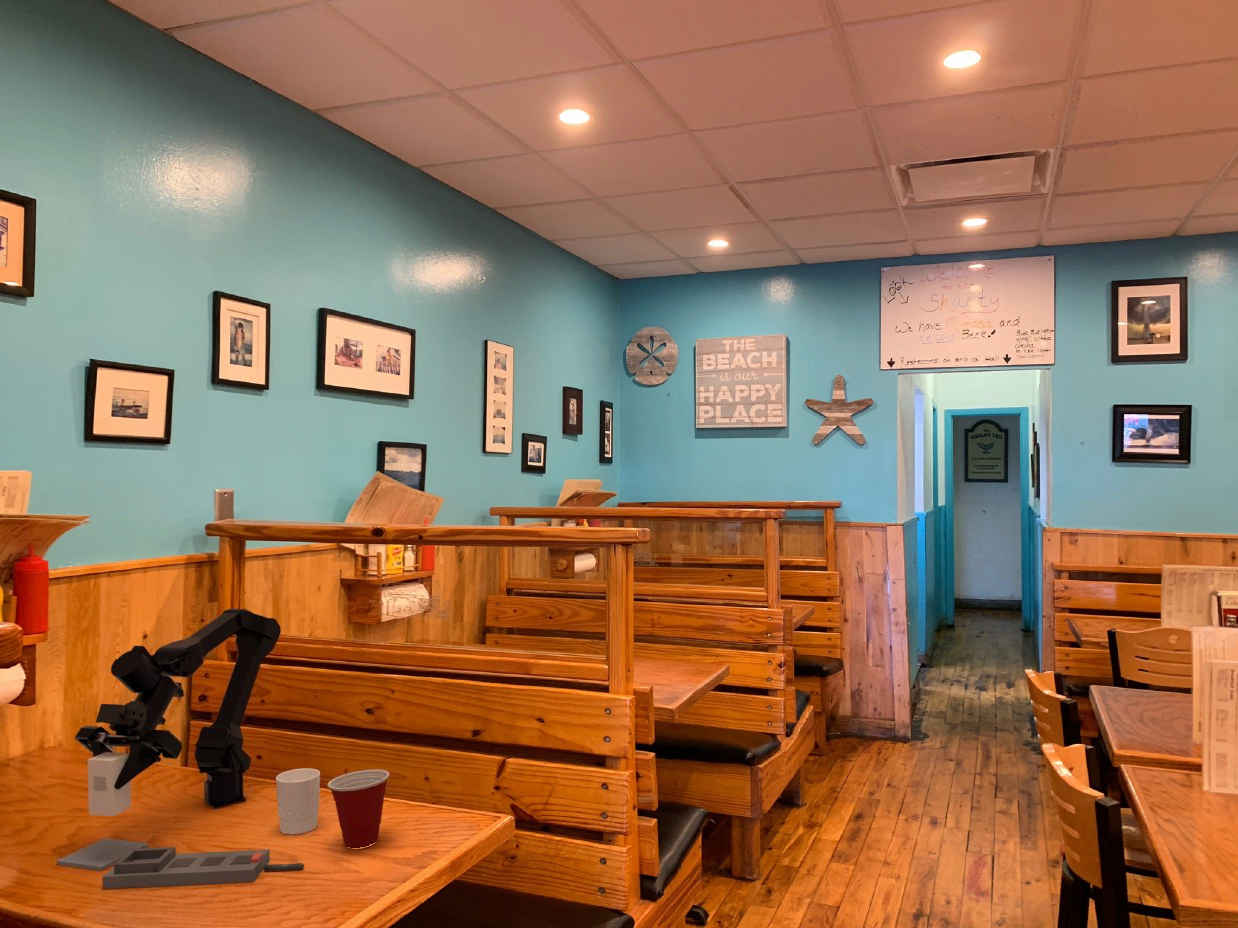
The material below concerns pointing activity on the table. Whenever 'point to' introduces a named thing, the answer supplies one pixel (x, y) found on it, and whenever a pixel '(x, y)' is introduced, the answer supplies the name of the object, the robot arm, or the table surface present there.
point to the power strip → (188, 868)
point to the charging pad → (100, 854)
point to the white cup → (298, 800)
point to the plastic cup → (359, 805)
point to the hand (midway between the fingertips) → (103, 787)
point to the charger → (107, 785)
